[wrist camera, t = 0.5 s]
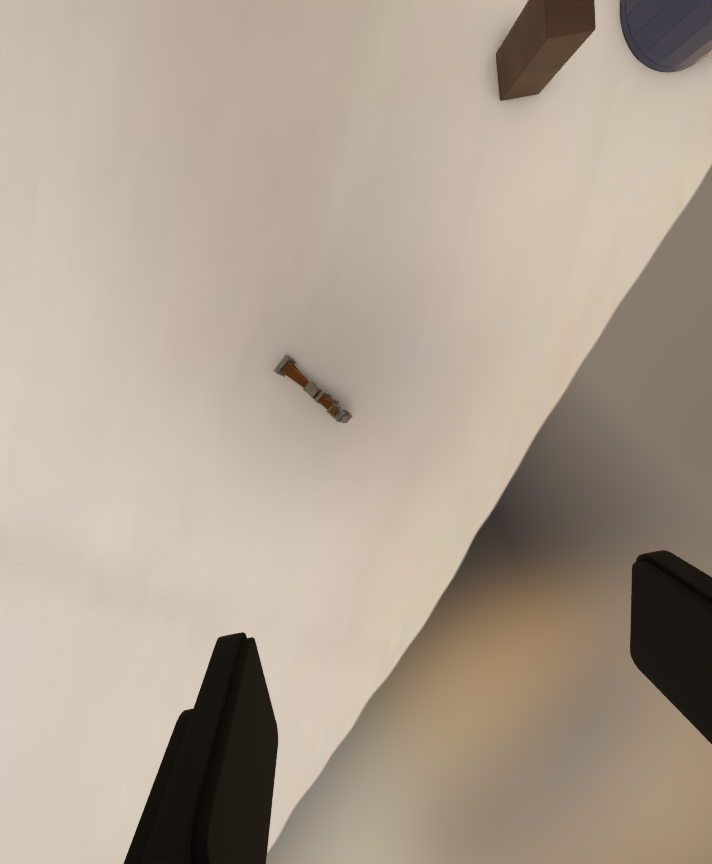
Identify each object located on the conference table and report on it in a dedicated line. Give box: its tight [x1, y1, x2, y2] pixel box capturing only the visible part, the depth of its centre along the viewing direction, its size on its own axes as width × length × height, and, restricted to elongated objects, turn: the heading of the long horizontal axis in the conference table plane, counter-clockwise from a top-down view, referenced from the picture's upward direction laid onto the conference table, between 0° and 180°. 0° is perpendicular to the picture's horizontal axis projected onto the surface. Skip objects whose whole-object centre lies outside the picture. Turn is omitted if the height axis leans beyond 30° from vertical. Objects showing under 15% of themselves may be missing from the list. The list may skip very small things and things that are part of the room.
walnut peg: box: [496, 0, 595, 100], centre depth 29 cm, size 3×3×7 cm
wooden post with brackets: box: [274, 355, 352, 423], centre depth 35 cm, size 2×8×4 cm, turn 50°
